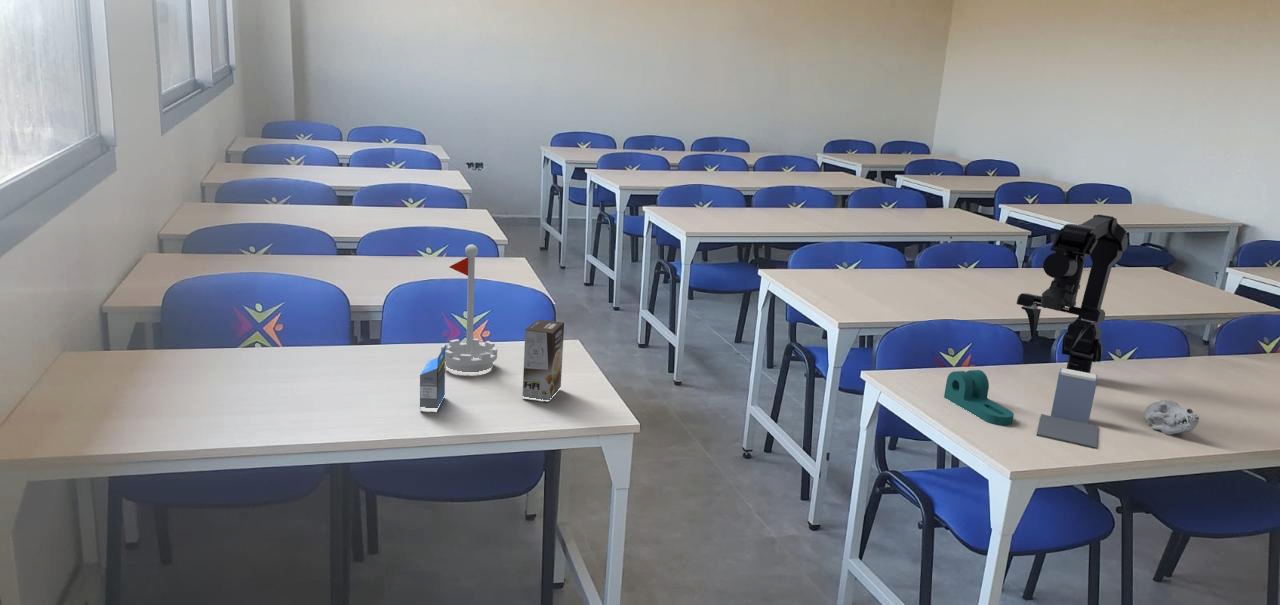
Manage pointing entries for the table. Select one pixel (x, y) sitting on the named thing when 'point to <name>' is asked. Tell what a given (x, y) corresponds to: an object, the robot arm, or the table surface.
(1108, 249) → the robot arm
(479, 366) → the flag stand
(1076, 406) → the book block
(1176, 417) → the skull
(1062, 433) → the mat
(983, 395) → the bracket
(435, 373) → the label tape cartridge
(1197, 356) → the table surface
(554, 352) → the coffee box
